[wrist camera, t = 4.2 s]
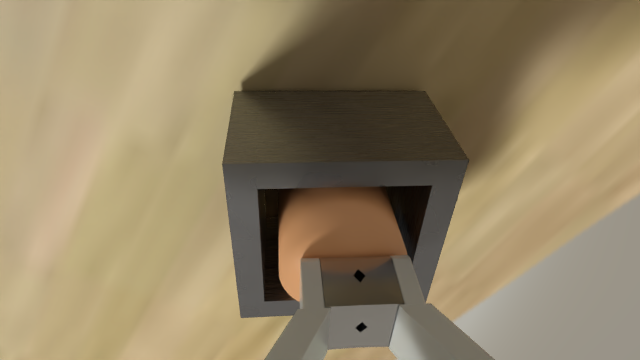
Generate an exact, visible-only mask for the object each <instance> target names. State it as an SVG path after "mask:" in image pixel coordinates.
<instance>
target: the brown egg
mask: <svg viewBox="0 0 640 360" xmlns="http://www.w3.org/2000/svg"><path fill="white" fill-rule="evenodd" d="M278 239H279V278H280V281H281V284H282V286H283V288H284V289H285V290H286V292H287V293H288V294H289V295H290V296H291V297H292V298H294V299H295V300H297V301H299V302H300V259H301V258H351V257H366V256H394V255H407V251H406V248H405V245H404V242H403V239H402V236H401V233H400V230H399V227H398V224H397V221H396V218H395V215H394V212H393V209H392V206H391V203H390V200H389V197H388V194H387V191H386V188H385V186H379V187H333V188H286V189H278Z"/></svg>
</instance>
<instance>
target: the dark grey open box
mask: <svg viewBox="0 0 640 360" xmlns="http://www.w3.org/2000/svg"><path fill="white" fill-rule="evenodd" d="M468 162H469V159H468V158H467V156H466V154H465V153H464V151H463V150H462V148H461V147H460V145H459V144H458V142H457V140H456V139H455V137H454V136H453V134H452V133H451V131H450V129H449V128H448V126H447V125H446V123H445V122H444V120H443V119H442V117H441V115H440V114H439V112H438V111H437V109H436V108H435V106H434V104H433V103H432V101H431V100H430V98H429V97H428V95H427V94H426V92H425V91H234V97H233V103H232V109H231V115H230V121H229V127H228V133H227V139H226V145H225V151H224V157H223V163H222V166H223V174H224V182H225V191H226V199H227V207H228V216H229V224H230V232H231V240H232V249H233V257H234V265H235V274H236V282H237V290H238V299H239V307H240V315H241V318H249V317H269V316H290V315H294V314H295V312H296V311H297V309H300V302H299V301H297V300H295V299H294V298H292V297H291V296H290V295H289V294H288V293H287V292H286V290H285V289H284V288H283V286H282V284H281V281H280V278H279V239H278V217H266V204H265V189H286V188H333V187H379V186H385V188H386V191H387V194H388V197H389V200H390V203H391V206H392V209H393V212H394V215H395V218H396V221H397V224H398V227H399V230H400V233H401V236H402V239H403V242H404V245H405V248H406V251H407V255H408V256H409V257H410V259H411V262H412V265H413V267H414V270H415V273H416V276H417V279H418V282H419V285H420V288H421V291H422V294H423V297H424V300H425V303H426V300H427V296H428V293H429V290H430V286H431V283H432V280H433V277H434V273H435V270H436V267H437V263H438V260H439V257H440V254H441V250H442V247H443V244H444V241H445V237H446V234H447V231H448V227H449V224H450V221H451V218H452V214H453V211H454V208H455V204H456V201H457V198H458V195H459V191H460V188H461V185H462V181H463V178H464V175H465V172H466V168H467V165H468Z"/></svg>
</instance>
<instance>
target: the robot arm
mask: <svg viewBox="0 0 640 360" xmlns="http://www.w3.org/2000/svg"><path fill="white" fill-rule="evenodd" d="M355 347H389V349H390V350H391V351H392V353H393V354H394V355H395V356H396V358H397V359H398V360H495V359H494V358H492V357H491V356H490V355H489V354H488V353H487V352H486V351H485V350H483V349H482V348H481V347H480V346H479V345H478V344H477V343H475V342H474V341H473V340H472V339H471V338H470V337H469V336H467V335H466V334H465V333H464V332H463V331H462V330H461V329H459V328H458V327H457V326H456V325H455V324H454V323H453V322H452V321H450V320H449V319H448V318H447V317H446V316H445V315H444V314H442V313H441V312H440V311H439V310H438V309H437V308H436V307H434V306H433V305H432V304H426V303H425V300H424V297H423V294H422V291H421V288H420V285H419V282H418V279H417V276H416V273H415V270H414V267H413V265H412V262H411V259H410V257H409V256H408V255H394V256H366V257H351V258H301V259H300V309H297V311H296V312H295V314H294V315H293V317H292V319H291V320H290V322H289V323H288V325H287V326H286V328H285V329H284V331H283V332H282V334H281V335H280V337H279V338H278V340H277V341H276V343H275V344H274V346H273V347H272V349H271V350H270V352H269V353H268V355H267V356H266V358H265V359H264V360H323V359H324V357H325V355H326V353H327V350H329V349H342V348H355Z"/></svg>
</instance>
